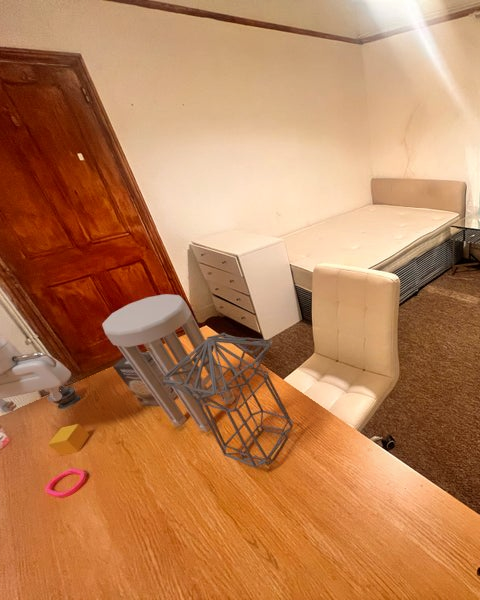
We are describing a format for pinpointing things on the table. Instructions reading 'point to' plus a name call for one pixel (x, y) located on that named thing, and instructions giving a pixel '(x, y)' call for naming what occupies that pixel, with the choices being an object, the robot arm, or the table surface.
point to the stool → (163, 351)
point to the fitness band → (70, 491)
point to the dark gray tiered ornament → (67, 397)
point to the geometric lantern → (203, 353)
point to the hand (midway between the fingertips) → (34, 404)
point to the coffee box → (139, 380)
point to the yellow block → (69, 439)
